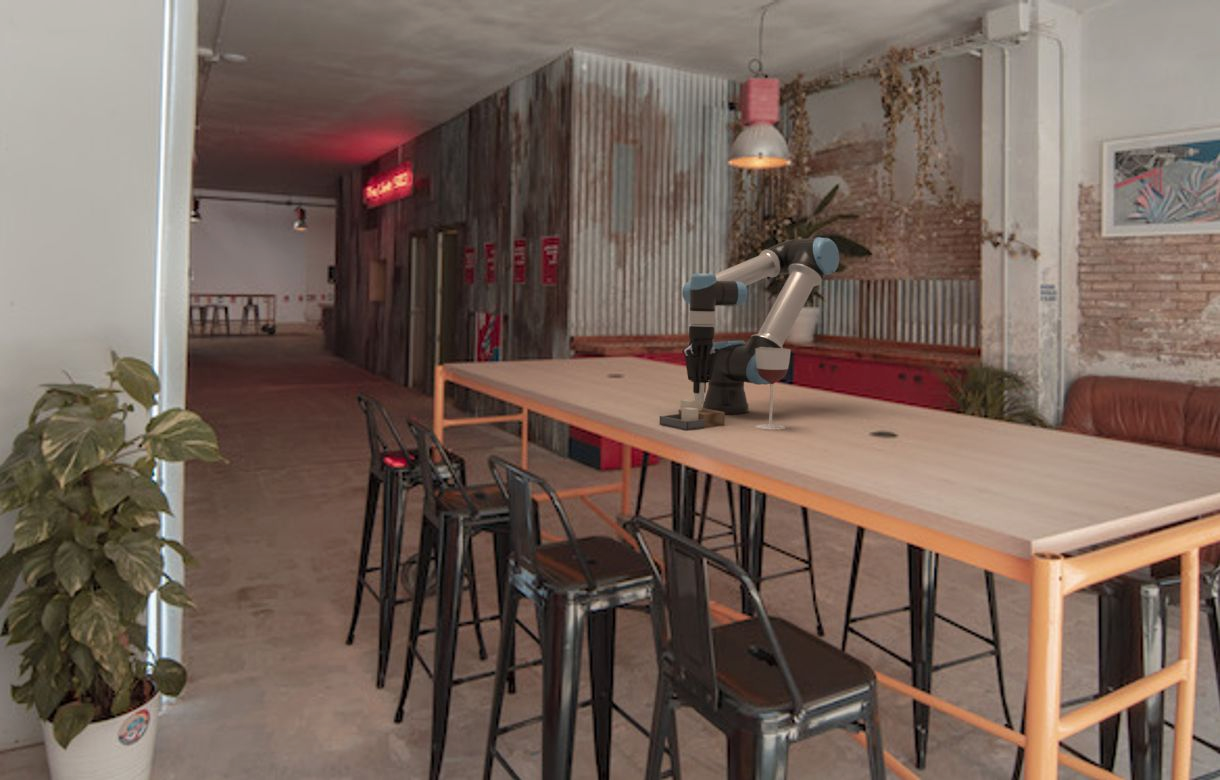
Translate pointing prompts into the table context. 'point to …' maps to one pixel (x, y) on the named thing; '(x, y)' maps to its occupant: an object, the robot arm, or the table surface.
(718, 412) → the board
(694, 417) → the beige block
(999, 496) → the table surface
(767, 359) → the wineglass
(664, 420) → the tray
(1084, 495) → the table surface
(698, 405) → the beige block
